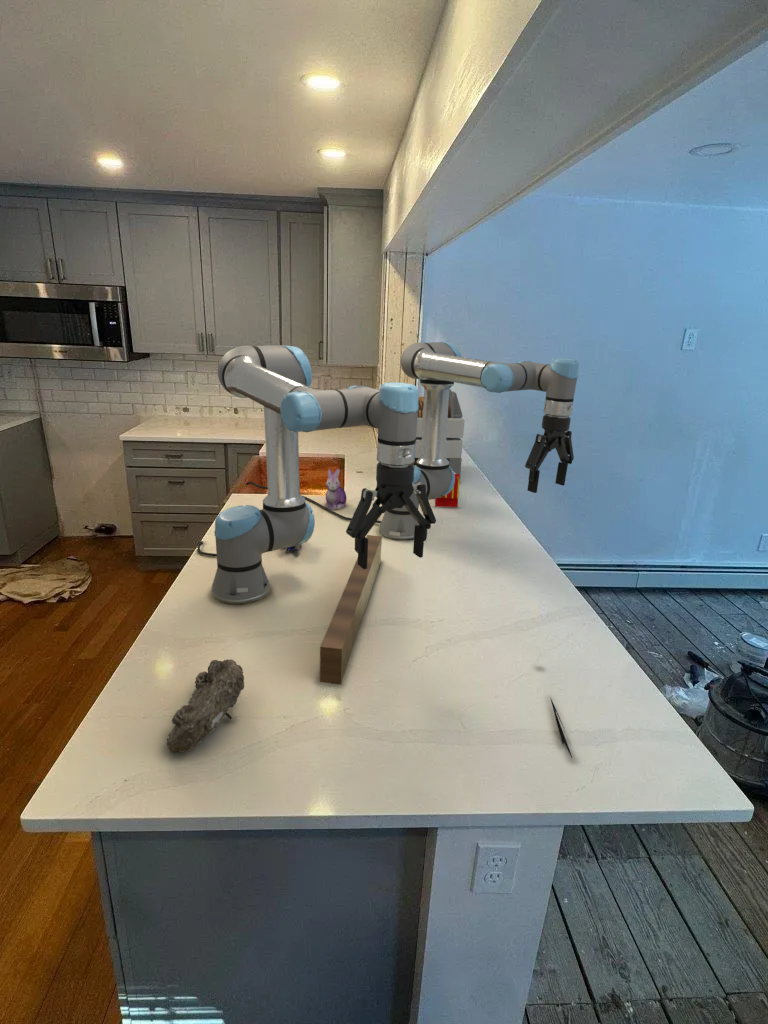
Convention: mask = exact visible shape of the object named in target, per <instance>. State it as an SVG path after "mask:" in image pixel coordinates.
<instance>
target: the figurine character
mask: <svg viewBox="0 0 768 1024" xmlns="http://www.w3.org/2000/svg"><path fill="white" fill-rule="evenodd" d="M301 548H302V544H299V545H297V546H294V547H287V548H283V549H282V550H285V554H288V553H289V550H291V551H294V554H297V553H298V550H300V549H301Z"/></svg>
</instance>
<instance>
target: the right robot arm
mask: <svg viewBox="0 0 768 1024" xmlns="http://www.w3.org/2000/svg"><path fill="white" fill-rule="evenodd" d="M399 360H400V361H399V362H400V367H401V370H402V372H403V373H404V374H405V375H406V376H407V377H408V378H411V379H413V380H419V384H420V385H421V386H422V388H423V397H424V405H423V427H422V449H421V457H420V458H419V459H418V460H417V465H416V466H414V481H413V483H412V485H413V484H415V482H417V481H418V482H420V483H422V484H424V485H425V486H426V495H427V498H428V501H429V500H433V499H434V500H435V498H440V497H442V496H445V495H447V494H448V493H449V492H450V491H451V490H452V489H453V486H454V483H455V475H454V473H453V472H452V471H453V469H452V468H451V467H450V466H449V461H448V460H447V459H446V458H445V453H446V437H447V420H448V403H449V389H450V390H451V389H452V387H453V386H454V385H455V383H457V384H461V385H467V386H470V387H471V386H472V387H477V388H482V389H485V390H486V391H487V392H489V393H498V394H501V393H506V392H507V393H508V392H518V391H528V390H529V391H538V392H539V391H540V392H544V393H545V400H544V407H543V414H544V415H543V416H542V421H541V428H542V429H543V431H544V432H543V434H541V433H536V435H535V439H534V443H533V446H532V448H531V449H530V450H531V451H530V452H529V455H528V457H527V460H526V461H525V464H524V468H526V469H528V470H529V472H528V484H527V491H528V492H530V493H532V494H533V493H534V494H537V493H538V486H539V480H540V473H541V471H540V470H539V469H540V467H541V465H542V464H543V462H544V461H545V459H546V458H547V455H548V454H549V453H550V452H552V450H554V449H555V451H556V453H557V456H558V458H559V462H558V464H557V470H556V475H555V484H556V485H559V486H565V485H566V478H567V472H568V466H569V465H572V464H573V461H574V459H575V456H574V449H573V442H572V430H570V425H571V419H572V418H571V417H570V416H572V412H573V409H574V399H575V393H576V388H577V381H578V378H579V366H580V363H579V361H578V360H577V359H575V358H565V357H553V358H552V359H551V360H550V363H549V364H547V363H541V362H533V361H531V360H530V361H529V360H527V361H526V360H519V361H517V362H514V363H511V362H510V363H509V362H508V363H506V362H500V361H499V362H498V361H491V360H485V359H477V358H472V357H471V358H470V357H466V356H465V357H464V356H462V353H461V351H460V350H459V349H458V347H457V346H456V345H455V344H453V343H451V342H445V341H444V342H442V341H436V342H422V341H421V342H420V341H419V342H414V343H411V344H409V345H408V346H407V347H405V348H404V350H403V351H402V353H401V356H400V359H399ZM249 485H253V486H254V487H256V488H259V489H264V490H268V486H263V485H259V484H256V483H255V482H253V481H248V482H246V483H245V486H249ZM302 496H303V497H304V498H305V501H306V500H307V502H308V501H309V502H311V503H313V504H315V505H317V506H318V507H320V508H321V509H323V510H326V511H327V512H328V513H330V514H332V515H334V516H337V517H339V518H341V519H343V520H347V521H351V519H352V517H349V516H348V517H347V516H344V515H342V514H340V513H338V512H335V510H333V509H328V508H326V506H325V505H323V504H321V503H319V502H317V501H315V500H314V499H311V498H310V497H307V496H304V495H302ZM410 499H411V501H412V502H413V503H414V505H415V507H416V508H417V509H418V510H419V507H420V505H419V502H418V500H417V497H416V495H415V493H414V492H413V493H412V495H411V496H410ZM375 524H379V527H378V533H379V534H380V536H382V537H385V538H387V539H389V540H395V541H410V540H414V530H415V525H419V524H418V522H417V521H416V520H415V519H414V517H413V516H412V515H411V514H410V512H409V511H408V510H407V509H406V507H405V506H403V508H394V509H391V510H389V509H387V510H386V512H385V513H383V514H382V519H381V520H377V521H376V523H375Z"/></svg>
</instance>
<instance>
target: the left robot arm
mask: <svg viewBox="0 0 768 1024" xmlns="http://www.w3.org/2000/svg"><path fill="white" fill-rule="evenodd" d="M217 377H218V381H219V383H220V385H221V387H222V388H223V389H224V390H225V391H226V392H228V393H229V394H231V395H233V396H234V397H237V398H240V399H249V400H251V401H253V402H256V403H257V404H259V405H261V406H263V415H264V436H265V437H264V438H265V439H264V440H265V457H266V458H265V459H266V479H267V487H268V489H267V494H266V496H264V498H263V499H262V509H259V508H258V507H257V506H255V505H249V504H246V505H236V506H232V507H229V508H227V509H224V510H222V511H221V512H220V513H218V515H217V516H216V518H215V520H214V521H215V522H214V537H215V549H216V553H212V552H204V551H202V550H201V546H202V545H203V544H204V541H203V540H200V541H198V543H197V545H196V552H198V553H199V554H200V555H203V556H207V557H216V561H217V562H216V565H217V567H216V571H215V575H214V577H213V582H212V584H211V596H212V598H213V599H214V600H216V601H217V602H219V603H222V604H225V605H233V606H240V605H247V604H253V603H256V602H258V601H261V600H263V599H264V598H266V597H267V596H268V595H269V594H270V581H269V579H268V576H267V574H266V571H265V568H264V566H263V559H262V556H263V555H262V554H265V553H269V552H274V551H278V550H284V549H283V548H286V549H287V547H294V546H297V545H299V544H301V545H302V544H306V543H307V542H308V541H309V540H310V539H312V536H313V534H314V530H315V527H316V526H315V525H316V523H315V521H316V520H315V515H314V513H313V512H314V510H313V508H312V506H311V505H310V504H309V503H308V502H307V501H306V499H305V498H304V497H303V496H304V495H302V494H301V489H300V488H301V486H300V448H299V433H311V432H316V431H323V430H324V431H325V430H333V429H342V428H352V427H362V426H367V427H370V428H374V429H377V445H376V447H377V448H376V461H377V462H378V463H377V464H376V469H375V470H376V472H375V473H376V474H375V475H376V476H375V481H376V487H375V489H367V488H366V487H365V488H362V489H361V493H360V500H359V502H358V503H357V506H356V509H355V510H354V513H353V515H352V517H351V518H352V519H351V520H349V523H348V526H347V528H346V529H345V534H347V535H348V536H349V537H351V538H352V539H354V552H355V553H357V558H358V565H359V566H360V567H362V568H363V569H367V557H368V539H367V538H366V537H367V535H369V532H370V531H371V530H372V528H373V527H374V525H375V524H377V523H376V521H379V519H380V517H381V516H382V515H383V514H384V513H385V512H386V510H387V509H389V510H391V509H394V508H403V506H405V507H406V509H407V510H408V511H409V512H410V514H411V515H412V516H413V517H414V519H415V520H416V521H417V522H418V524H419V525H415V530H414V539H413V546H412V547H413V548H412V554H413V555H415V556H416V557H418V558H419V559H420V558H423V557H424V547H425V546H424V545H425V542H427V539H428V530H430V529H431V528H432V525H435V524H436V522H437V518H436V516H435V514H434V510H433V509H432V506H431V503H430V501H429V500H428V498H427V495H426V486H425V485H424V484H422V483H420V482H418V481H417V482H415V484H413V485H412V483H413V481H414V465H413V464H412V463H414V461H415V445H416V431H417V416H418V409H419V406H418V397H419V389H418V387H417V386H416V385H415V384H412V383H407V382H393V381H391V382H383V383H382V384H381V385H380V386H379V389H376V388H371V387H368V386H366V385H350V386H348V387H347V388H342V389H341V388H340V389H323V390H318V389H315V388H312V387H311V384H312V382H313V373H312V366H311V364H310V361H309V358H308V357H307V355H306V353H305V352H304V351H303V350H302V349H301V348H300V347H298V346H295V345H285V344H279V345H240V346H237V347H234V348H232V349H230V350H228V351H227V352H226V353H225V354H224V355H223V356H222V358H221V359H220V361H219V363H218V366H217ZM413 492H414V493H415V495H416V497H417V500H418V502H419V507H420V510H421V512H422V513H421V512H420V510H419V508H418V509H417V508H416V507H415V505H414V503H413V502H412V501H411V499H410V496H411V495H412V493H413ZM375 498H376V499H375ZM197 548H198V549H197Z"/></svg>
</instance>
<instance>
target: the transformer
mask: <svg viewBox="0 0 768 1024" xmlns="http://www.w3.org/2000/svg"><path fill="white" fill-rule="evenodd" d="M423 405H424V396H418V406H419V409H418V416H417V431H416V445H415V461H414V463H412V464H413V465H414V466H416V465H417V460H418V459H419V458H420V457H421V449H422V427H423ZM464 429H465V419H464V418H463V411H462V408H461V405H460V402H459V398H458V395H457V392H455V391H453V390H452V389H451V388H450V389H449V403H448V420H447V437H446V453H445V458H446V459H447V460H448V461H449V466H450V467H451V468H452V469H453V471H454V472H455V473H456V474H460V475H461V472H462V461H463V460H462V453H463V442H464V441H463V440H462V439H463V438H464V431H465V430H464ZM459 483H461V480H460V481H459Z"/></svg>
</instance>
